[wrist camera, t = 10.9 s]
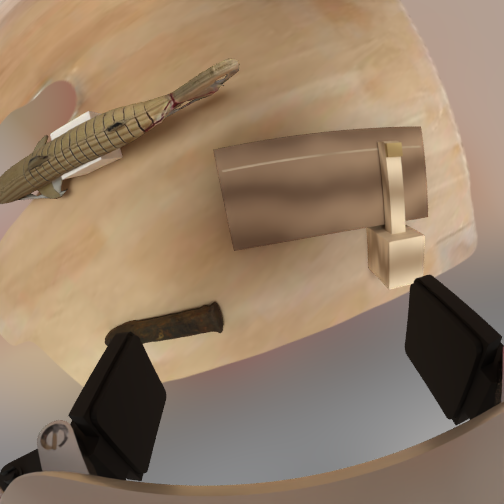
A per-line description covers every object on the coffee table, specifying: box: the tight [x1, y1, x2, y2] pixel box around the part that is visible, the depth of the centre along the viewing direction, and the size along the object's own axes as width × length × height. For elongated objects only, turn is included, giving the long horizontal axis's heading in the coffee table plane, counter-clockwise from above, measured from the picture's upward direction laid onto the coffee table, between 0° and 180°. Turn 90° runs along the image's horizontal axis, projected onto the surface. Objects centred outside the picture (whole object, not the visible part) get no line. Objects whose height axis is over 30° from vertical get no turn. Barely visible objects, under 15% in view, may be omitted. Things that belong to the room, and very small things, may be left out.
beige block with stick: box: [367, 141, 425, 289], centre depth 33 cm, size 17×5×7 cm, turn 10°
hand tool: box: [105, 302, 223, 346], centre depth 39 cm, size 19×4×5 cm, turn 102°
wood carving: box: [0, 59, 240, 204], centre depth 27 cm, size 9×35×11 cm, turn 106°
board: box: [214, 127, 428, 251], centre depth 34 cm, size 12×26×3 cm, turn 100°
